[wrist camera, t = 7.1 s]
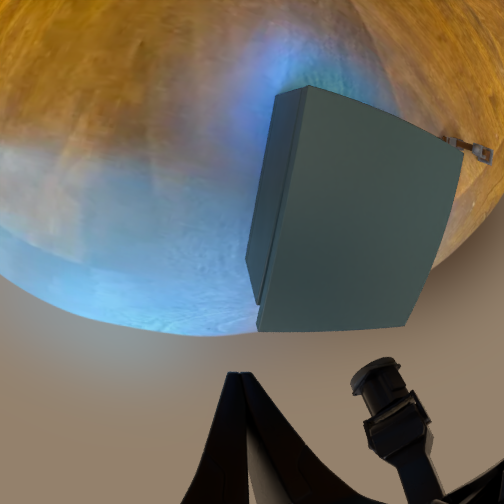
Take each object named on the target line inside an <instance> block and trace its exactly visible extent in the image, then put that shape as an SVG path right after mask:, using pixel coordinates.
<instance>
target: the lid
mask: <svg viewBox="0 0 504 504" xmlns="http://www.w3.org/2000/svg"><path fill="white" fill-rule="evenodd" d="M463 156H464V153H463V152H461V151H460V150H458V149H457V148H455V147H453V146H452V145H450V144H448V143H446V142H445V141H443V140H441V139H439V138H438V137H436V136H434V135H432V134H430V133H428V132H427V131H425V130H423V129H421V128H419V127H417V126H415V125H413V124H411V123H409V122H407V121H404V120H402V119H400V118H398V117H396V116H394V115H391V114H389V113H387V112H384V111H382V110H380V109H377V108H375V107H372V106H370V105H367V104H365V103H362V102H359V101H357V100H354V99H351V98H348V97H345V96H342V95H339V94H336V93H333V92H330V91H327V90H324V89H320V88H317V87H313V86H310V85H308V86H305V87H303V89H302V95H301V101H300V106H299V112H298V118H297V123H296V129H295V134H294V140H293V145H292V150H291V156H290V161H289V166H288V172H287V177H286V182H285V187H284V192H283V197H282V202H281V207H280V212H279V217H278V222H277V227H276V232H275V237H274V242H273V247H272V252H271V257H270V261H269V266H268V271H267V275H266V280H265V285H264V289H263V294H262V299H261V303H260V308H259V312H258V317H257V321H256V326H257V329H258V332H323V331H347V330H364V329H377V328H389V327H400V326H405V324H406V322H407V320H408V318H409V316H410V314H411V312H412V310H413V308H414V306H415V304H416V302H417V300H418V297H419V295H420V293H421V291H422V289H423V286H424V284H425V282H426V279H427V277H428V275H429V272H430V270H431V267H432V265H433V262H434V259H435V257H436V254H437V251H438V249H439V246H440V243H441V240H442V237H443V234H444V231H445V228H446V225H447V222H448V218H449V215H450V212H451V208H452V204H453V201H454V197H455V193H456V189H457V185H458V181H459V176H460V171H461V166H462V161H463Z"/></svg>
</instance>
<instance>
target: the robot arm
mask: <svg viewBox="0 0 504 504" xmlns="http://www.w3.org/2000/svg"><path fill="white" fill-rule="evenodd" d="M400 367H401V365H400V364H395V365H390V366H385V367H379V368H373V369H370V370H369V371H368V372H367V373H366V375H365V376H364V378H363V379H362V380H361V382H360V383H359V385H358V386H357V387H356V389H355V390H354V391H353V393H352V394H353V396H357V395H362V397H363V399H364V401H365V404H366V406H367V408H368V410H369V412H370V414H371V416H372V417H371V418H369V419H368V420H365V421H363V423H364V425H363V426H364V429H365V432H366V436H367V439H368V447H369V449H371V450H373V451H374V452H375V453H376V454H377V455H378V456H379V457H380V458H381V459H383V460H384V461H386V462H387V463H389V464H391V465H392V466H394V467H396V469H397V471H398V474H399V477H400V480H401V483H402V486H403V489H404V492H405V495H406V498H407V501H408V504H504V458H503V459H502V460H501V461H499V462H498V463H496V464H495V465H494V466H492V467H491V468H489V469H488V470H486V471H485V472H483V473H482V474H480V475H479V476H477V477H476V478H474V479H472V480H471V481H469V482H467V483H466V484H464V485H462V486H461V487H459V488H457V489H455V490H453V491H452V492H450V493H448V494H447V495H446V494H445V491H444V489H443V486H442V484H441V481H440V479H439V476H438V474H437V472H436V469H435V467H434V465H433V463H432V460H431V458H430V453H431V449H432V444H433V438H434V437H433V434H432V432H431V430H430V428H429V426H428V424H430V423H431V422H432V421H431V419H430V418H429V416H428V414H427V412H426V410H425V408H424V406H423V404H422V403H421V401H420V399H419V398H418V396H417V394H416V393H415V392H414V390H411V391H410V393H409V392H408V390H407V389H406V387H405V386H406V384H405V382H404V381H403V379H402V377H401V375H400V374H399V372H398V370H399V369H400ZM415 402H416V404H415ZM248 471H249V475H250V479H251V483H252V487H253V491H254V495H255V499H256V503H257V504H386V503H383V502H379V501H376V500H373V499H370V498H367V497H365V496H363V495H360V494H359V493H357V492H356V491H355V490H353V489H352V488H351V487H349V486H348V485H347V484H346V483H345V482H344V481H342V480H341V479H340V478H339V477H338V476H336V475H335V474H334V473H333V472H332V471H331V470H330V469H329V468H328V467H327V466H325V465H324V464H323V463H322V462H321V461H320V460H319V458H318V457H317V456H316V455H315V454H314V453H313V452H312V450H311V449H310V448H309V447H308V446H307V445H305V442H304V441H303V440H302V438H301V437H300V436H299V435H298V433H297V432H296V431H295V430H294V428H293V427H292V426H291V425H290V423H289V422H288V421H287V419H286V418H285V417H284V416H283V414H282V413H281V412H280V410H279V409H278V408H277V407H276V405H275V404H274V402H273V401H272V400H271V398H270V397H269V396H268V395H267V393H266V392H265V390H264V389H263V387H262V386H261V385H260V383H259V382H258V381H257V379H256V378H255V376H254V375H253V374H252V373H251V372H240V373H239V372H228V373H227V376H226V379H225V383H224V386H223V389H222V392H221V396H220V399H219V402H218V405H217V409H216V412H215V415H214V418H213V422H212V425H211V428H210V432H209V435H208V438H207V441H206V445H205V448H204V452H203V454H202V457H201V460H200V463H199V466H198V468H197V472H196V474H195V476H194V478H193V480H192V482H191V485H190V487H189V488H188V491H187V492H186V494H185V496H184V498H183V500H182V502H181V503H180V504H249V485H248Z"/></svg>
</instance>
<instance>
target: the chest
mask: <svg viewBox="0 0 504 504" xmlns="http://www.w3.org/2000/svg"><path fill="white" fill-rule="evenodd" d="M302 89H303V88H299V89H296V90H292V91H289V92H286V93H283V94H280V95H276V96H275V101H274V107H273V112H272V117H271V122H270V128H269V133H268V138H267V144H266V149H265V154H264V160H263V165H262V170H261V176H260V181H259V187H258V192H257V197H256V203H255V208H254V214H253V219H252V225H251V230H250V235H249V241H248V246H247V252H246V257H245V260H246V264H247V268H248V272H249V276H250V281H251V285H252V289H253V293H254V297H255V301H256V305H260V303H261V299H262V294H263V289H264V285H265V280H266V275H267V271H268V266H269V261H270V257H271V252H272V247H273V242H274V237H275V232H276V227H277V222H278V217H279V212H280V207H281V202H282V197H283V192H284V187H285V182H286V177H287V172H288V166H289V161H290V156H291V150H292V145H293V140H294V134H295V129H296V123H297V118H298V112H299V106H300V101H301V95H302Z"/></svg>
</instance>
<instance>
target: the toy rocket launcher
mask: <svg viewBox="0 0 504 504" xmlns="http://www.w3.org/2000/svg"><path fill="white" fill-rule="evenodd" d="M443 141H445V142H446V143H448V144H450V145H452V146H453V147H455V148H457V149H458V150H461V151H463V150H464V149H467V150H470V151H472V153H474V154H475V156H478V161H480V162H483V163H486V164H488V165H492V158H493V151H494V150H492V149H489V148H487V147H484V146H482V145H479V144H476V143H473V145H471V144H468V143H465V142H463V140H460V139H457V138H454V137H453V138H451V137H450V138H449V137H445V136H443Z"/></svg>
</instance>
